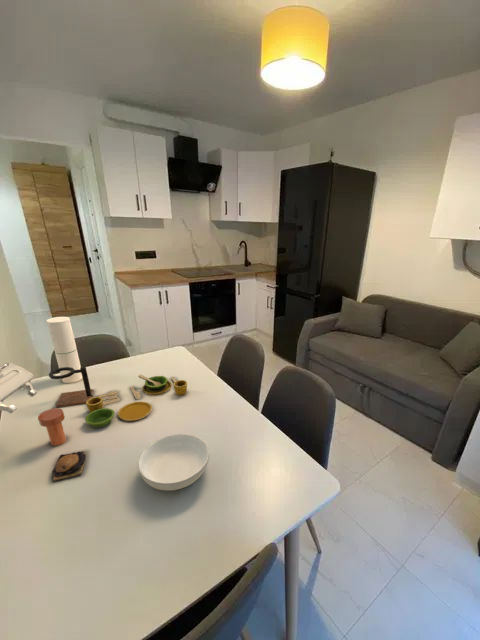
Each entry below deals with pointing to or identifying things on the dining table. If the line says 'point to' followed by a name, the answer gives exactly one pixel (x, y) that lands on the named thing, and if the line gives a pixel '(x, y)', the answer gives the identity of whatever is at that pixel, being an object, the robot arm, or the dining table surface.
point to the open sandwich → (69, 465)
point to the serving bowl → (173, 461)
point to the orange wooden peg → (53, 425)
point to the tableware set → (132, 410)
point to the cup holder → (75, 396)
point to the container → (64, 346)
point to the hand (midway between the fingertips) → (25, 402)
